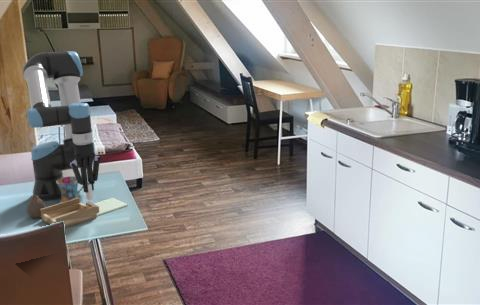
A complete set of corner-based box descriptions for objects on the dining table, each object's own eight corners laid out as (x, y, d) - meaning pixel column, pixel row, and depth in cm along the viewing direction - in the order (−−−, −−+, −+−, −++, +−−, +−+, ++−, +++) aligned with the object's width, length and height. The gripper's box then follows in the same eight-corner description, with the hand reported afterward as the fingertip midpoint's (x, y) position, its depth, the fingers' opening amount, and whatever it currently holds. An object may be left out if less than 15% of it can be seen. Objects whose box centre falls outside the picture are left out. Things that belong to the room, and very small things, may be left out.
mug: (65, 209, 198) (61, 185, 195) (55, 203, 204) (52, 180, 201) (91, 201, 206) (89, 178, 203) (81, 196, 212) (78, 173, 209)
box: (41, 220, 188) (40, 209, 186) (79, 208, 199) (78, 197, 197) (58, 230, 178) (56, 218, 177) (96, 217, 189) (95, 206, 188)
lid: (82, 210, 198) (81, 202, 197) (113, 200, 208) (112, 192, 207) (96, 217, 190) (95, 209, 189) (127, 207, 200) (127, 199, 199)
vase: (28, 221, 187) (25, 200, 185) (28, 215, 193) (25, 194, 191) (47, 218, 190) (44, 197, 187) (46, 212, 196) (43, 191, 193)
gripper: (72, 147, 180) (79, 206, 186) (103, 141, 189) (109, 196, 195) (62, 144, 185) (70, 201, 192) (93, 137, 194) (99, 192, 200)
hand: (89, 198), depth 193 cm, fingers closed
